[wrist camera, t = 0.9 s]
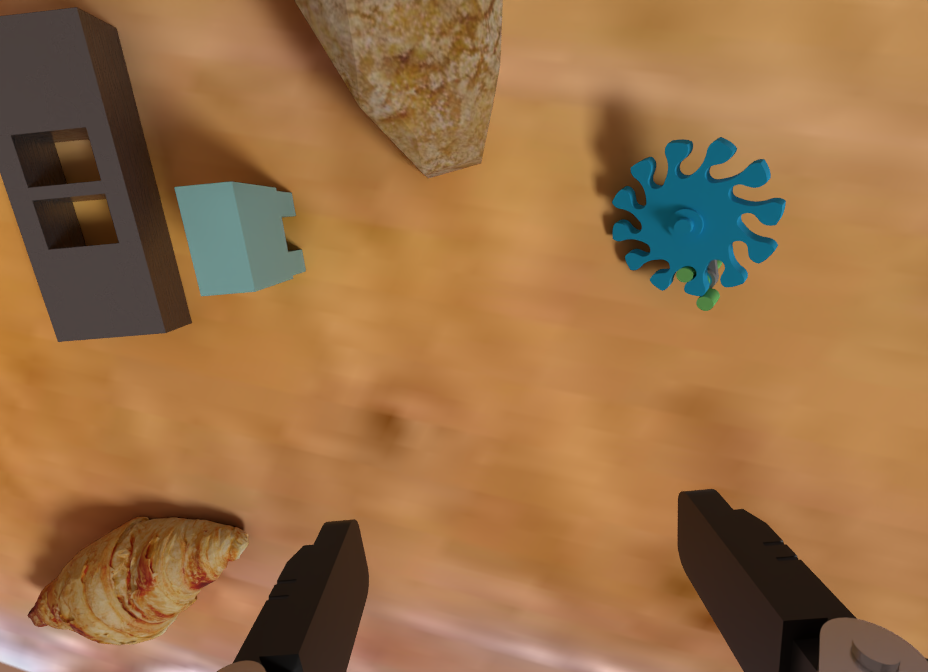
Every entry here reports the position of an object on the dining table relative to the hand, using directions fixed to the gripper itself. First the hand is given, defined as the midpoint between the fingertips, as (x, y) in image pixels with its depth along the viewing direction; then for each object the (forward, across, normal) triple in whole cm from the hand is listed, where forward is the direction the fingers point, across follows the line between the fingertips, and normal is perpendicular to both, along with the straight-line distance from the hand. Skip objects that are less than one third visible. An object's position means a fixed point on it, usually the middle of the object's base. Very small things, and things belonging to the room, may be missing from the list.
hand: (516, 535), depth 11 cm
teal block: (+24, +15, -8) cm, 29 cm away
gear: (+24, -13, -5) cm, 28 cm away
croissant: (+24, +32, +19) cm, 45 cm away
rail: (+23, +26, -12) cm, 37 cm away
